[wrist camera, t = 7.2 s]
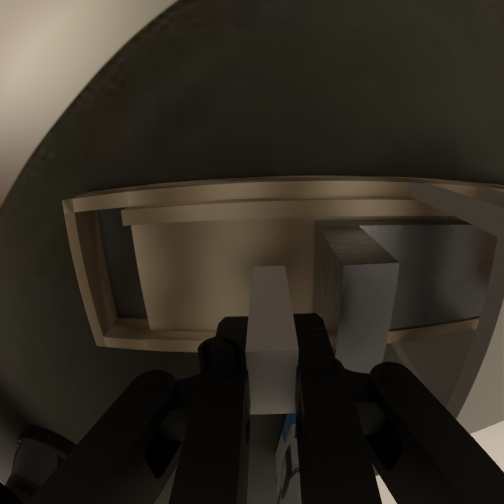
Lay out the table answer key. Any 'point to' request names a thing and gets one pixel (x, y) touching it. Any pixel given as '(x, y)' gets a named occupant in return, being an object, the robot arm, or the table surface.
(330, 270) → the sled
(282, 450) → the ink box
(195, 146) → the table surface
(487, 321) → the tunnel
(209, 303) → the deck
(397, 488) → the robot arm
